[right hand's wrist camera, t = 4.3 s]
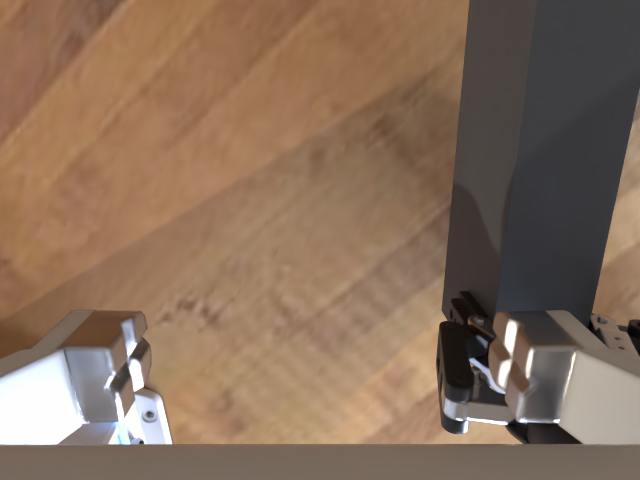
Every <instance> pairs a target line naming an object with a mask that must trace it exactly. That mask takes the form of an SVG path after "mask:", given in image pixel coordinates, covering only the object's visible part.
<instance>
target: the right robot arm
mask: <svg viewBox="0 0 640 480" xmlns="http://www.w3.org/2000/svg"><path fill="white" fill-rule="evenodd" d="M146 330H147V323H146V318H145V315H144V314H143V313H142V312H141V311H101V310H99V311H97V310H78V311H72V312H70V313H69V314H68V315H67V316H66V317H65V318H64V319H63V320H62V321H61V322H60V323H58V324H57V325H56V326H55V327H54V328H53V329H52V330H51V331H50V332H49V333H48V334H46V335H45V336H44V337H43V338H42V339H41V340H40V341H39V342H38V343H37V344H36V345H34V346H33V347H32V348H31V349H22V350H20V351H17V352H15V353H12V354H10V355H8V356H5V357H3V358H0V480H640V358H637V357H635V356H632V355H630V354H628V353H625V352H623V351H620V350H618V349H609V348H608V347H607V346H606V345H605V344H603V343H602V342H601V341H600V340H599V339H598V338H597V337H596V336H595V335H594V334H593V333H591V332H590V331H589V330H588V329H587V328H586V327H585V326H584V325H583V324H582V323H581V322H579V321H578V320H577V319H576V318H575V317H574V316H573V315H572V314H571V313H570V312H568V311H565V310H549V311H545V310H543V311H502V312H497V314H496V316H495V318H494V322H493V330H494V332H495V333H496V335H497V336H498V337H497V338H496V339H495V340H494V341H493V342H492V343H491V344H490V347H489V355H488V361H489V370H490V373H491V376H492V379H493V381H494V382H495V384H496V386H497V387H499V388H500V389H502V390H504V391H505V392H506V394H505V402H506V403H507V405H508V407H509V408H510V410H511V412H512V413H513V415H514V417H515V419H516V420H517V422H529V423H559V424H558V425H559V426H560V427H562V428H563V429H564V430H565V431H567V432H568V433H569V434H571V435H572V436H573V437H575V438H576V439H577V440H579V441H580V442H581V443H583V444H172V440H171V436H170V432H169V427H168V423H167V419H166V415H165V410H164V406H163V402H162V399H161V397H160V396H159V395H158V394H157V393H156V392H154V391H151V390H148V389H145V388H141V387H143V386H144V384H145V382H146V381H147V379H148V377H149V373H150V369H151V360H152V354H151V347H150V344H149V343H148V342H147V341H146V340H145V339H144V338H143V337H142V336H143V335H144V333H145V332H146ZM149 411H151V412H153V413H150V412H149Z"/></svg>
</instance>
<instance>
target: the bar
mask: <svg viewBox="0 0 640 480" xmlns="http://www.w3.org/2000/svg"><path fill="white" fill-rule="evenodd" d="M639 88H640V0H470V2H469V13H468V24H467V35H466V46H465V58H464V69H463V80H462V91H461V102H460V113H459V124H458V135H457V146H456V157H455V169H454V180H453V191H452V202H451V213H450V224H449V235H448V246H447V257H446V268H445V280H444V291H443V302H442V312H443V313H444V315H445V317H446V319H447V320H448V321H449V316H450V305H451V299H452V298H456V296H457V292H458V291H469V292H470V293H471V295H472V296H473V297H474V299H475V300H476V301H477V302H478V304H479V305H480V306H481V308H482V309H483V310H484V312H485V313H486V314H487V316H488V319H490V320H492V321H493V322H494V318H495V316H496V314H497V312H502V311H543V310H545V311H549V310H565V311H568V312H570V313H571V314H572V315H573V316H574V317H575V318H576V319H577V320H578V321H579V322H581V323H582V324H583V325H584V326H585V327H586V328H587V329H588V327H589V322H590V318H591V313H592V308H593V304H594V299H595V294H596V290H597V285H598V280H599V276H600V271H601V266H602V261H603V257H604V252H605V247H606V243H607V238H608V233H609V229H610V224H611V219H612V215H613V210H614V205H615V201H616V196H617V191H618V187H619V182H620V177H621V173H622V168H623V163H624V158H625V154H626V149H627V144H628V140H629V135H630V130H631V126H632V121H633V116H634V112H635V107H636V102H637V98H638V93H639ZM489 347H490V343H489V342H488V349H487V351H488V352H489ZM473 366H474V365H473ZM481 378H482V379H484V380H485V381H486V382H487V384H488V386H490V384H489V380H488V377H487V376H486V375H485V374H484V373H483V372H481Z"/></svg>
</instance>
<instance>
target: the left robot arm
mask: <svg viewBox="0 0 640 480" xmlns="http://www.w3.org/2000/svg"><path fill="white" fill-rule="evenodd" d="M588 330H589V331H590V332H591V333H593V334H594V335H595V336H596V337H597V338H598V339H599V340H600V341H601V342H602V343H603V344H605V345H606V346H607V347H608V348H609V349H618V350H620V351H623V352H625V353H628V354H630V355H632V356H635V357H637V358H640V320H630V321H629V324H628V327H627V326H620V325H617V324H616V322H615V320H613V319H612V318H610V317H608V316H604V315H599V314H593V313H591V318H590V322H589V327H588ZM497 337H498V336H497V335H496V333H495V332H494V330H493V321H492V320H490V319H488V316H487V314H486V313H485V312H484V310H483V309H482V308H481V306H480V305H479V304H478V302H477V301H476V300H475V299H474V297H473V296H472V295H471V293H470V292H469V291H458V292H457V296H456V298H452V299H451V305H450V316H449V321H444V322H441V323H440V325H439V336H438V346H437V358H436V368H437V380H438V392H439V403H440V415H441V424H442V426H443V428H444V429H445V430H446V431H448V432H450V433H453V434H464V433H466V432H467V431H468V428H469V420H475V421H483V422H491V423H498V424H504V425H505V427H506V429H507V430H508V431H509V432H510V434H511V435H512V436H514V437H515V438H516V439H518V440H519V441H520V442H522V443H523V444H583V443H581V442H580V441H579V440H577V439H576V438H575V437H573V436H572V435H571V434H569V433H568V432H567V431H565V430H564V429H563V428H562V427H560V426H559V425H558V424H559V423H529V422H517V420H516V419H515V417H514V415H513V413H512V412H511V410H510V408H509V407H508V405H507V403H506V402H505V394H506V392H505V391H504V390H502V389H500V388H499V387H497V386H496V384H495V382H494V381H493V379H492V376H491V373H490V370H489V361H488V355H489V352H488V351H487V349H488V342H489V343H490V344H491V343H492V342H493V341H494V340H495V339H496V338H497ZM470 363H471V364H472V365H474V366H473V367H471V366H470ZM481 372H483V373H484V374H485V375H486V376H487V377H488V380H489V384H490V386H491V388H492V389H491V388H490V387H489V386H488V384H487V382H486V381H485V380H484V379H482V378H481Z"/></svg>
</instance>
